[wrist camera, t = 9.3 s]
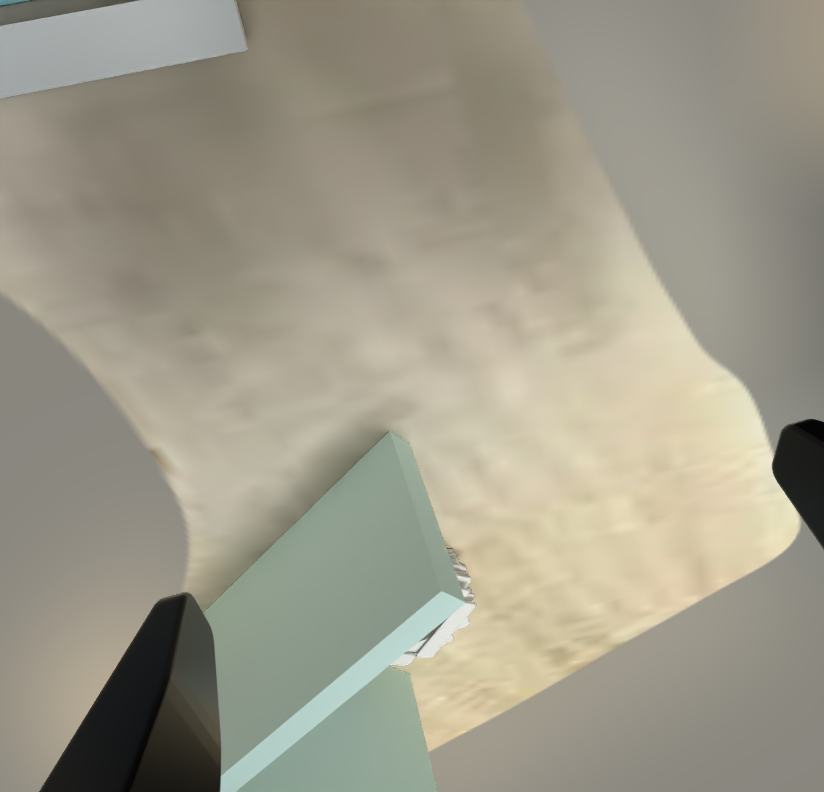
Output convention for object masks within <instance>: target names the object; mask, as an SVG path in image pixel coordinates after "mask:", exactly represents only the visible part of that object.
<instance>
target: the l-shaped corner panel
mask: <svg viewBox="0 0 824 792" xmlns="http://www.w3.org/2000/svg"><path fill="white" fill-rule="evenodd" d="M466 570H467V569H466V567H465V566H464V565H463V564H461V563H459V560H458V558H457V557H456V554H453V550H452V549H447V548H446V545H445V542H444V539H443V536H442V534H441V531H440V528H439V525H438V522H437V520H436V517H435V514H434V511H433V508H432V505H431V503H430V500H429V497H428V494H427V491H426V489H425V486H424V483H423V480H422V477H421V474H420V472H419V469H418V466H417V463H416V460H415V457H414V455H413V452H412V449H411V446H410V443H409V442H407V441H405V440H404V439H402V438H401V437H399V436H398V435H396V434H395V433H393V432H392V431H389V432H388V433H387V434H386V435H385V436H384V437H383V438H382V439H381V440H380V441H379V442H378V443H377V444H376V445H375V446H374V447H373V448H372V449H371V450H369V451H368V452H367V453H366V454H365V455H364V456H363V457H362V458H361V459H360V460H359V461H358V462H357V463H356V464H355V465H354V466H353V467H352V468H351V469H350V470H349V471H348V472H347V473H346V474H345V475H344V476H343V477H342V478H341V479H340V480H339V481H338V482H337V483H336V484H335V485H334V486H333V487H332V488H331V489H330V490H329V491H327V492H326V493H325V494H324V495H323V496H322V497H321V498H320V499H319V500H318V501H317V502H316V503H315V504H314V505H313V506H312V507H311V508H310V509H309V510H308V511H307V512H306V513H305V514H304V515H303V516H302V517H301V518H300V519H299V520H298V521H297V522H296V523H295V524H294V525H293V526H292V527H291V528H290V529H289V530H288V531H287V532H285V533H284V534H283V535H282V536H281V537H280V538H279V539H278V540H277V541H276V542H275V543H274V544H273V545H272V546H271V547H270V548H269V549H268V550H267V551H266V552H265V553H264V554H263V555H262V556H261V557H260V558H259V559H258V560H257V561H256V562H255V563H254V564H253V565H252V566H251V567H250V568H249V569H248V570H247V571H246V572H244V573H243V574H242V575H241V576H240V577H239V578H238V579H237V580H236V581H235V582H234V583H233V584H232V585H231V586H230V587H229V588H228V589H227V590H226V591H225V592H224V593H223V594H222V595H221V596H220V597H219V598H218V599H217V600H216V601H215V602H214V603H213V604H212V605H211V606H210V607H209V608H208V609H207V610H206V611H205V612H204V613H203V614H204V616H205V617H206V619H207V621H208V622H209V624H210V626H211V629H212V633H213V638H214V648H215V661H216V675H217V689H218V703H219V717H220V731H221V786H220V792H437V788H436V784H435V780H434V776H433V771H432V767H431V763H430V758H429V754H428V750H427V746H426V741H425V737H424V733H423V729H422V724H421V720H420V716H419V712H418V707H417V703H416V699H415V695H414V690H413V686H412V682H411V678H410V674H409V673H407V672H404V671H401V670H398V669H396V668H393V667H390V666H389V665H391V664H392V665H400V666H407V665H408V664H410V663H411V662H412V661H413V659H414V658H415V657H419V658H431V657H433V656H434V655H435V654H436V652H437V651H438V650H439V649H440V648H441V647H442V645H443V644H445V643H448V642H451V641H452V640H453V635H452V634H453V632H454V631H456V630H458V629H461V628H463V627H466V626H467V625H469V623H470V622H469V618H468V615H469V614H470V613H471V611H472V610H473V609H474V608H475V606H476V604H477V603H475V602H471V601H472V600H473V598H474V597H475V595H474V593H472V588H470V587H467V586H468V584H469V582H470V581H471V578H470V576H469V574H468V573H465V572H466ZM415 653H417V655H416V654H415Z"/></svg>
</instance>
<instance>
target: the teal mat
mask: <svg viewBox="0 0 824 792" xmlns="http://www.w3.org/2000/svg"><path fill="white" fill-rule="evenodd" d="M26 1H32V0H0V6H4V5H9V4H15V3H21V2H26Z"/></svg>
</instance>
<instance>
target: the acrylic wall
mask: <svg viewBox="0 0 824 792" xmlns="http://www.w3.org/2000/svg"><path fill="white" fill-rule="evenodd" d="M243 51H247V39H246V35H245V31H244V28H243V24H242V20H241V16H240V13H239V9H238V5H237V1H236V0H139V1H133V2H128V3H122V4H117V5H112V6H106V7H101V8H95V9H90V10H84V11H79V12H73V13H68V14H62V15H57V16H52V17H46V18H41V19H35V20H30V21H24V22H19V23H13V24H8V25H2V26H0V99H2V98H7V97H12V96H17V95H22V94H27V93H32V92H38V91H43V90H48V89H53V88H58V87H63V86H68V85H74V84H79V83H84V82H89V81H94V80H99V79H104V78H110V77H115V76H120V75H125V74H130V73H135V72H140V71H146V70H151V69H156V68H161V67H166V66H171V65H176V64H182V63H187V62H192V61H197V60H202V59H207V58H212V57H217V56H223V55H228V54H233V53H238V52H243Z"/></svg>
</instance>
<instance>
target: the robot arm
mask: <svg viewBox="0 0 824 792" xmlns="http://www.w3.org/2000/svg"><path fill="white" fill-rule="evenodd" d="M772 470H773V474H774V476H775V479H776V480H777V482H778V484H779V485H780V487H781V488H782V489H783V491H784V492H785V494H786V495H787V497H788V498H789V500H790V501H791V503H792V504H793V505H794V507H795V508H796V510H797V511H798V513H799V514H800V516H801V517H802V519H803V520H804V521H805V523H806V524H807V526H808V527H809V529H810V530H811V532H812V533H813V534H814V536H815V537H816V539H817V540H818V542H819V543H820V545H821V546H822V548H823V549H824V422H822V421H818V420H815V419H806V420H802V421H799V422H795V423H792V424H788V425H786V426H785V427H784V428H783V429H782V430H781V433H780V436H779V440H778V444H777V448H776V451H775V455H774V458H773V462H772ZM220 786H221V731H220V717H219V703H218V689H217V675H216V661H215V648H214V638H213V633H212V629H211V626H210V624H209V622H208V621H207V619H206V617H205V616H204V614H203V612H202V611H201V609H200V607H199V605H198V604H197V602H196V600H195V599H194V597H193V596H192V595H191V594H190V593H188V592H183V593H180V594H176V595H172V596H169V597H166V598H163V599H160V600H159V601H158V602H157V603H156V604H155V605H154V607H153V608H152V610H151V612H150V614H149V615H148V616H147V618H146V620H145V622H144V623H143V625H142V626H141V628H140V629H139V631H138V633H137V634H136V636H135V638H134V639H133V641H132V642H131V644H130V646H129V647H128V649H127V651H126V652H125V654H124V655H123V657H122V659H121V660H120V662H119V663H118V665H117V667H116V669H115V670H114V671H113V673H112V675H111V676H110V678H109V680H108V681H107V683H106V684H105V686H104V688H103V690H102V691H101V692H100V694H99V696H98V697H97V699H96V701H95V702H94V704H93V705H92V707H91V709H90V710H89V712H88V714H87V715H86V717H85V718H84V720H83V722H82V723H81V725H80V727H79V728H78V730H77V731H76V733H75V735H74V736H73V738H72V739H71V741H70V743H69V744H68V746H67V748H66V749H65V751H64V752H63V754H62V756H61V757H60V759H59V761H58V762H57V764H56V765H55V767H54V769H53V770H52V772H51V773H50V775H49V777H48V778H47V780H46V781H45V783H44V785H43V786H42V788H41V790H40V791H39V792H220Z"/></svg>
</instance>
